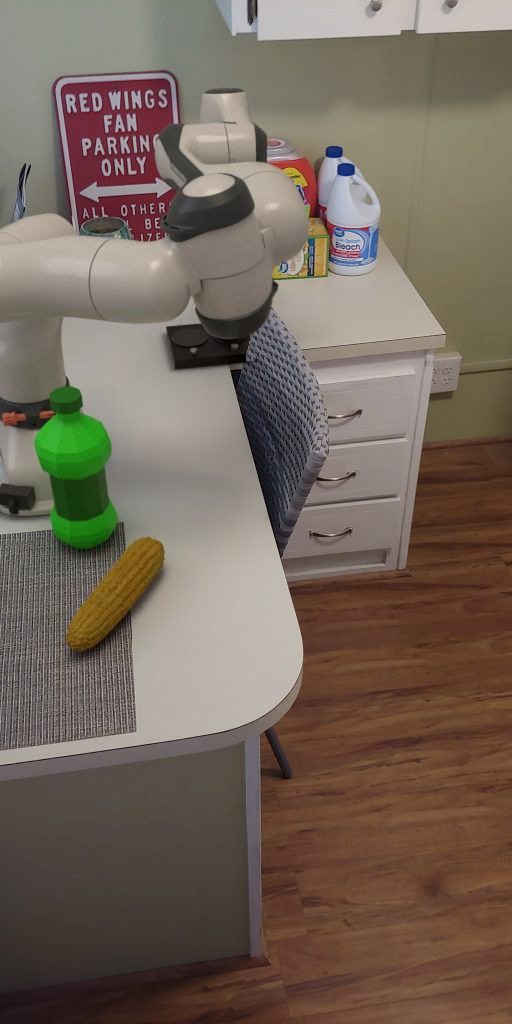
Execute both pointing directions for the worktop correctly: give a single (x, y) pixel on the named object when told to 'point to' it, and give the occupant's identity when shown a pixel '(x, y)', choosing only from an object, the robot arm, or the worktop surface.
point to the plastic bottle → (76, 471)
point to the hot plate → (203, 347)
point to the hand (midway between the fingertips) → (227, 257)
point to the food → (116, 593)
